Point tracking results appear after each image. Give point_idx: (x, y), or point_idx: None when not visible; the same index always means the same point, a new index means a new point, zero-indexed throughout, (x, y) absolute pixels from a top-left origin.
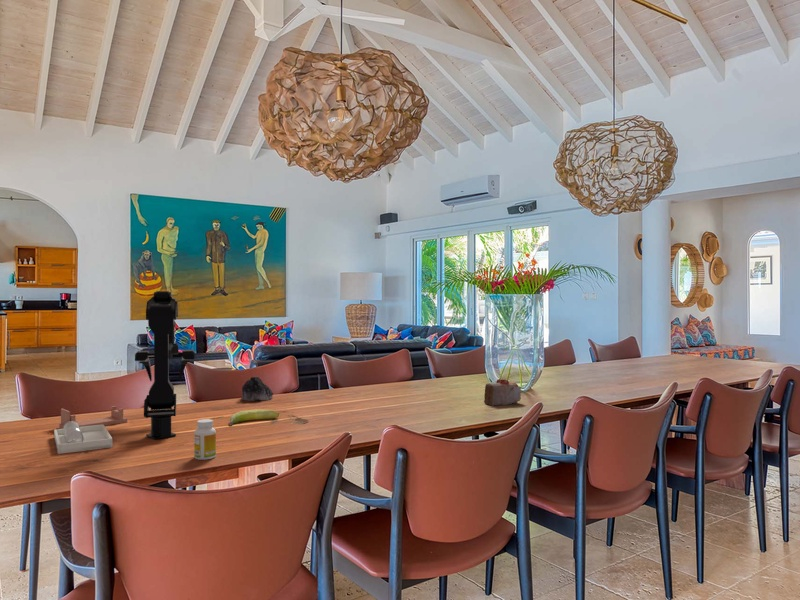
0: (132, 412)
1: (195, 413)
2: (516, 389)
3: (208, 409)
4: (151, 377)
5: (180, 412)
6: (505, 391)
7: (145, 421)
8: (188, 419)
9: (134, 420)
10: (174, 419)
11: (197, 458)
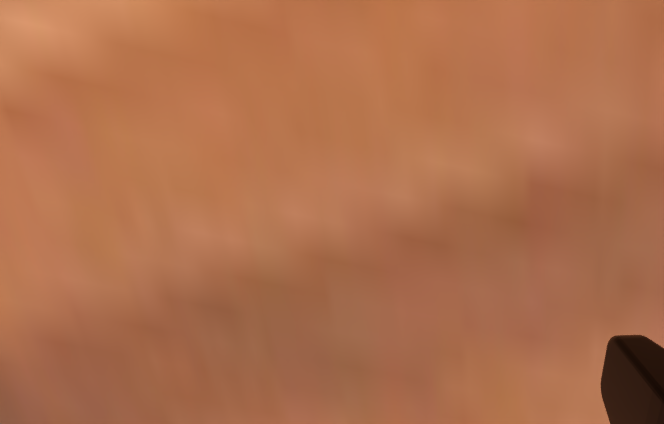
0: None
1: (99, 278)
2: None
3: (37, 393)
4: (651, 401)
5: (238, 339)
6: None
7: (515, 28)
8: (90, 28)
9: (620, 103)
10: (234, 61)
11: None
